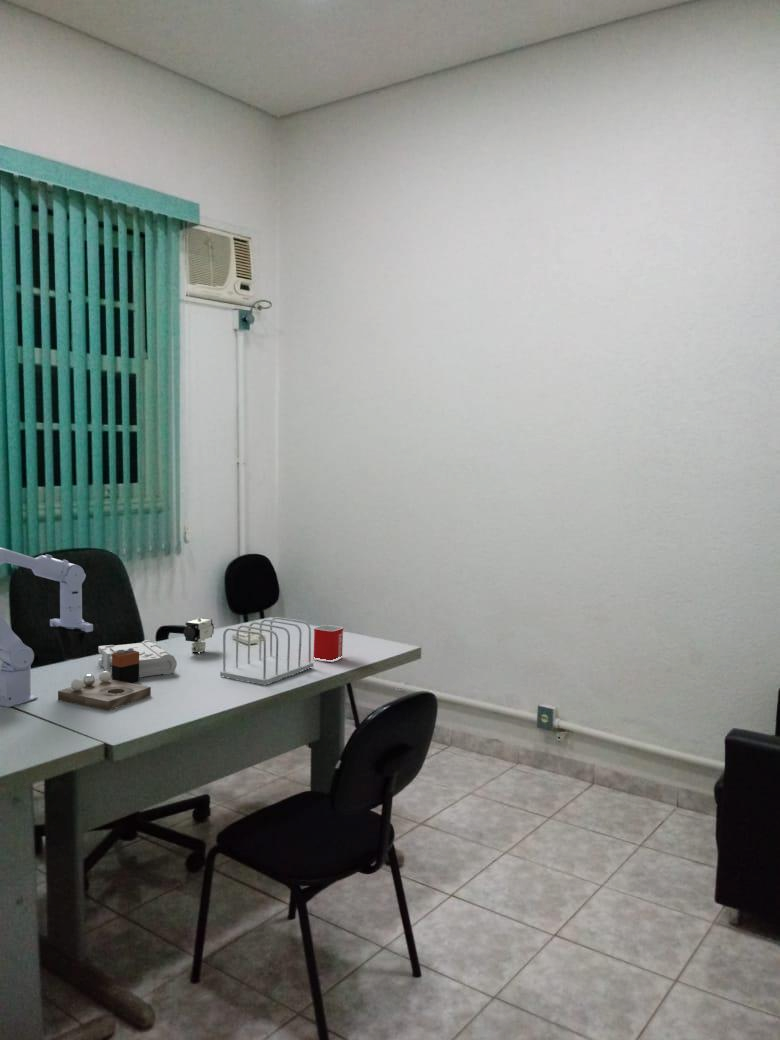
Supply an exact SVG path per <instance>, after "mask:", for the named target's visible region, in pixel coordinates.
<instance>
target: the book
mask: <svg viewBox="0 0 780 1040" xmlns="http://www.w3.org/2000/svg"><path fill="white" fill-rule="evenodd" d="M97 647H98V653H99V654H100V655H101V657H100V658H98V664H100V665H99V666H101V667H103V671H104V670H105V671H108V672H110V674H111V676H112V654H113V653H117V651H118V650H125V651H126V650H128V649H129V648H133V650H134V651H138V652H139V678H143V677H150V676H158V675H159V676H160V675H161V674H169V675H172V674H173V673H174V672H175V671H176V668H177V665H178V663H177V659H176V658H175V656H174V655H173V654H171V653H170V652H168V651H167V650H165V649H162V647H161V646H159V645H158V644H156V643H155V642H154V641H152V640H150V639H147V640H146V639H145V640H143V641H141V642H136V643H127V644H117V645H114V644H109V645H99V646H97ZM171 673H172V674H171Z"/></svg>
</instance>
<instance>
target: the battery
mask: <svg viewBox="0 0 780 1040" xmlns="http://www.w3.org/2000/svg"><path fill="white" fill-rule="evenodd" d="M111 679H112V680H117V681H122V682H127V683H132V684H136V683H138V682H140V677H139V652H138V651H134V650H133V648H129V649H128V650H126V651H125V650H118V651H117V653H113V654H112V675H111ZM135 682H136V683H135Z"/></svg>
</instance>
